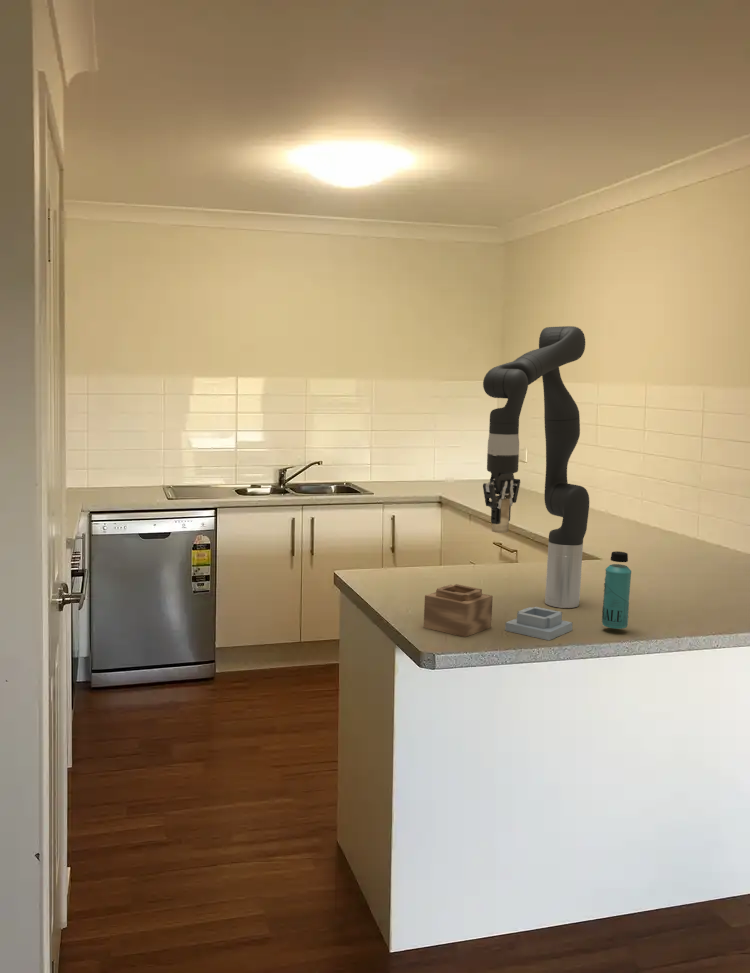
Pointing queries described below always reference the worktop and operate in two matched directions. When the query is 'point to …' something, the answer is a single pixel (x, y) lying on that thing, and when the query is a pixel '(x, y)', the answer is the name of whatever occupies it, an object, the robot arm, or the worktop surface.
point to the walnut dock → (458, 610)
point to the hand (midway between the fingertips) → (500, 522)
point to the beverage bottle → (616, 593)
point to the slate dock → (539, 623)
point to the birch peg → (503, 518)
